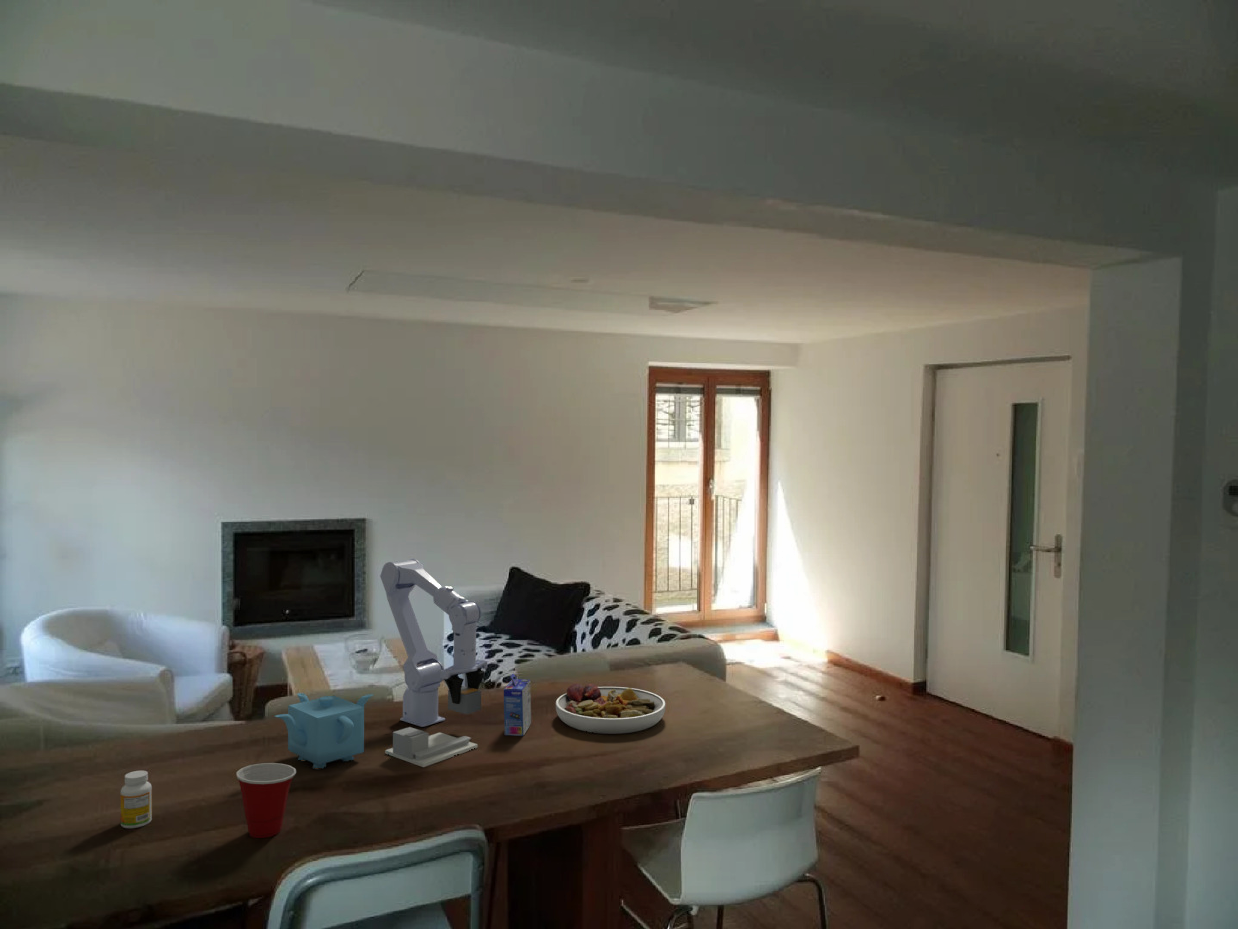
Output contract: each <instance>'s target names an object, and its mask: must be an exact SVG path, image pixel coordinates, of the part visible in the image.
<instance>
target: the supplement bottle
mask: <svg viewBox="0 0 1238 929" xmlns="http://www.w3.org/2000/svg"><path fill="white" fill-rule="evenodd" d="M148 780H149V773H148V771H146V770H135V771H130V772H128V773H126V774H125V775H124V785H123V786H122V788H120V826H121V827H122V828H125V829H136V828H141V827H144V826H146V825H148V824H150V823H151V822H152V820H153V818H152V817H153V798H152V797H153V796H152V795H153V786H152V783H151V782H150V781H148Z"/></svg>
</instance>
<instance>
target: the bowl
mask: <svg viewBox="0 0 1238 929" xmlns="http://www.w3.org/2000/svg"><path fill="white" fill-rule="evenodd" d="M555 710H556V714H557V716H558V717H559V719H560V720H561V721H562V722H563V723H565V725H567V726H568V727H571V728H573V729H576V730H579V731H583V732H586V731H587V732H588V733H592V732H593V734H602V735H603V734H604V735H607V734H608V735H617V734H630V733H636V732H641V731H644V730H647V729H649V728H651V727H653V726H655V725H656V724H657V723H659V722H660V721H661V720H662V718H663V716H664V714H665V712H666V701H665V699H664V698H663V697H661V696H660V695H658V694H656V693H654V692H651V691H648V690H643V689H639V688H633V687H624V686H623V687H622V686H597V685H596V684H595V683H594V684H593V683H588V684H587V685H585V686H583V685H582V684H580V683H574V684H572V685H570V686H569V687H567V689H566V693H564V694H562V695H560V696H559V697H558V698H557V699H556V701H555ZM587 732H586V733H587Z"/></svg>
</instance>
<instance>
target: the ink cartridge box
mask: <svg viewBox="0 0 1238 929" xmlns="http://www.w3.org/2000/svg"><path fill="white" fill-rule="evenodd" d="M509 678H510V681H509V683H508V684H507V685H506V686H505V687H504V688H503V715H504V716H503V717H504V718H503V719H504V722H503V723H504V725H503V726H504V727H503V728H504V736H514V737H515V736H516V737H517V736H518V737H523V736H525V734H526V732H527V731H528V729H529V728H530V726H531V725H532V708H531V707H532V705H531V701H532V699H531V698H532V696H531V694H532V693H531V679H524V678H523V679H521V678H520V679H519V678H517V676H516V675H515V673H512V674H511V675H510V676H509Z"/></svg>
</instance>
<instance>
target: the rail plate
mask: <svg viewBox="0 0 1238 929" xmlns="http://www.w3.org/2000/svg"><path fill="white" fill-rule="evenodd" d="M471 739H472V737H469V736H467V735H463V736H460V737H455V736H453V735H449V734H446V733H443V732H437V733H434V734H431V735H429V732H426V731H424V730H421V729H417V728H413V727H411V726H409V727H405V728H401V729H399V730H395V731H393V732H392V747H391V748H388V749H386V750H385V751H384V752H385V754H386V755H388V754H389V756H392V757H394V758H397V759H399V760H403V761H406V762H408V763H411V764H412V765H416V766H419V767H421V768H425V767H428V766H431V765H435V764H436V763H439V762H441V761H444V760H447V759H448V760H449V759H450V758H453V757H455V756H454V755H456V756H458V755H457V754H459V755H461V754H464V753H466V752H469V750H470V751H472V750H471V749H473V750H475V749H478V743H474V742H471V741H470V740H471ZM474 748H475V749H474Z"/></svg>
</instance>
